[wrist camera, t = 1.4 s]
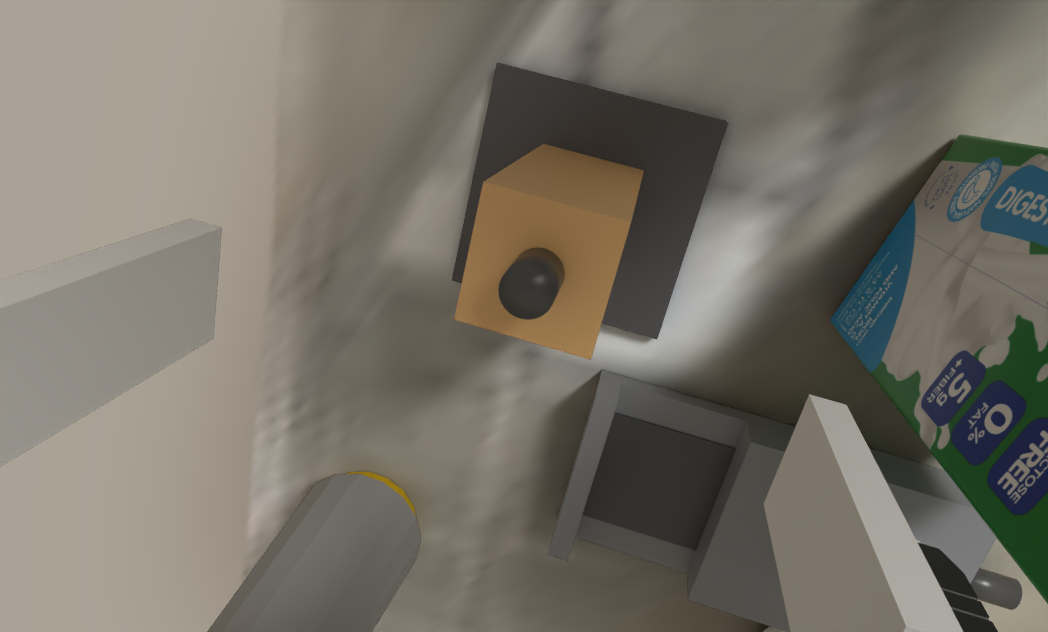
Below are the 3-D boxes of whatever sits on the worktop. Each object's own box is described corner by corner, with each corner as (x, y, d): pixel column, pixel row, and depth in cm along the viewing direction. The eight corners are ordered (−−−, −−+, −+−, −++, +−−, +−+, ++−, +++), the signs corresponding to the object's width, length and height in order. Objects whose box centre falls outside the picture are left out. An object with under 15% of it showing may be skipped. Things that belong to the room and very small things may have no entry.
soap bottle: (341, 576, 43) (129, 905, 26) (293, 473, 41) (33, 755, 24) (447, 556, 41) (292, 898, 24) (401, 448, 39) (201, 736, 22)
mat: (499, 63, 32) (496, 63, 31) (726, 121, 31) (727, 122, 30) (455, 277, 35) (451, 280, 35) (657, 334, 34) (657, 339, 34)
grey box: (601, 369, 35) (561, 548, 22) (1046, 500, 33) (1286, 780, 20) (556, 519, 39) (498, 751, 26) (959, 646, 37) (1119, 968, 24)
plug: (543, 143, 32) (465, 192, 20) (643, 170, 31) (627, 237, 19) (520, 241, 33) (434, 342, 21) (615, 267, 33) (583, 385, 21)
